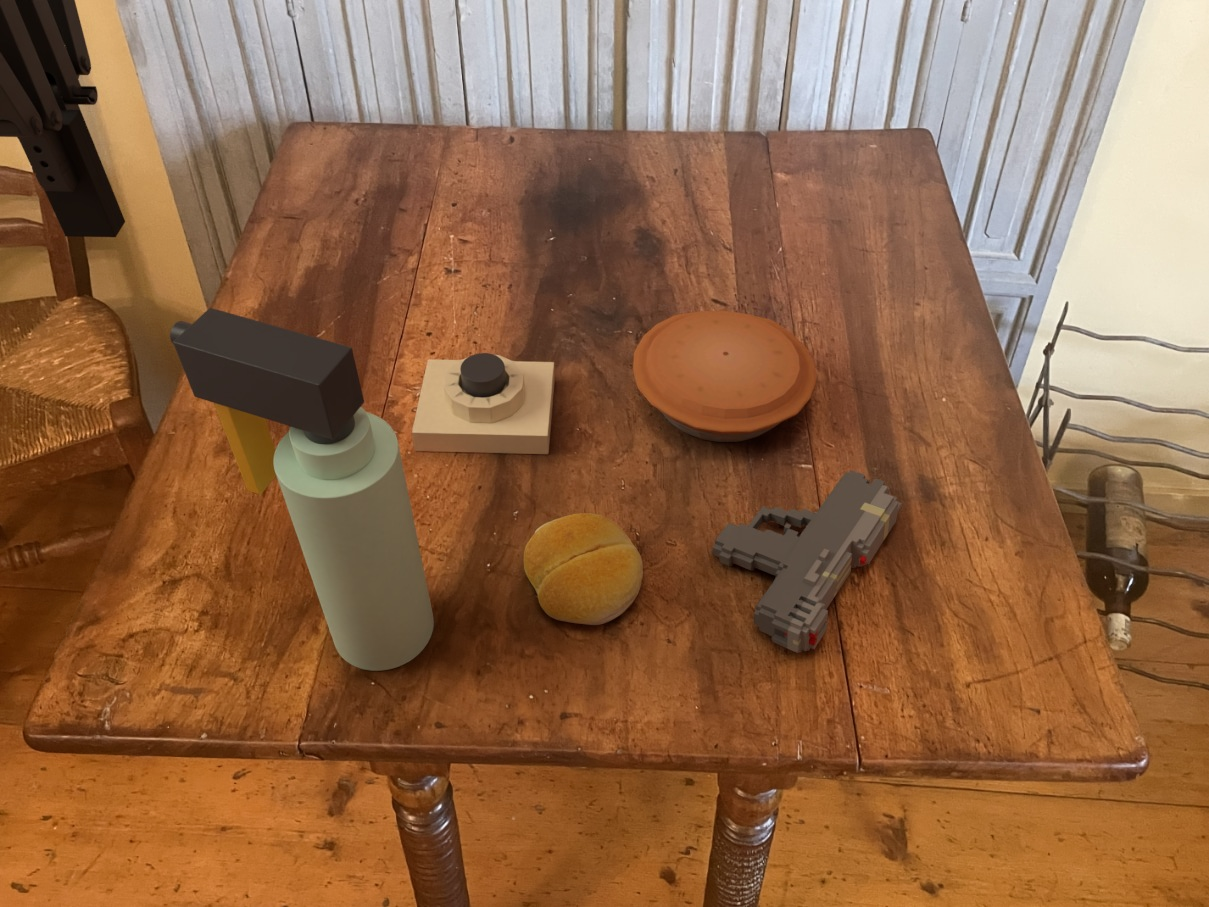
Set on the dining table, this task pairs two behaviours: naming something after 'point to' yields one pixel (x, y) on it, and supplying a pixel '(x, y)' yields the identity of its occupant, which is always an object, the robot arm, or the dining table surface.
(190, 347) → the spray bottle
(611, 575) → the bread roll
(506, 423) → the timer
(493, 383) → the timer button
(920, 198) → the dining table surface
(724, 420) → the pie
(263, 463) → the strip
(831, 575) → the toy gun
